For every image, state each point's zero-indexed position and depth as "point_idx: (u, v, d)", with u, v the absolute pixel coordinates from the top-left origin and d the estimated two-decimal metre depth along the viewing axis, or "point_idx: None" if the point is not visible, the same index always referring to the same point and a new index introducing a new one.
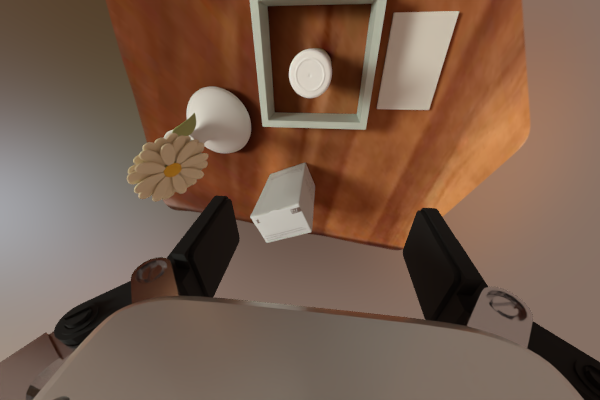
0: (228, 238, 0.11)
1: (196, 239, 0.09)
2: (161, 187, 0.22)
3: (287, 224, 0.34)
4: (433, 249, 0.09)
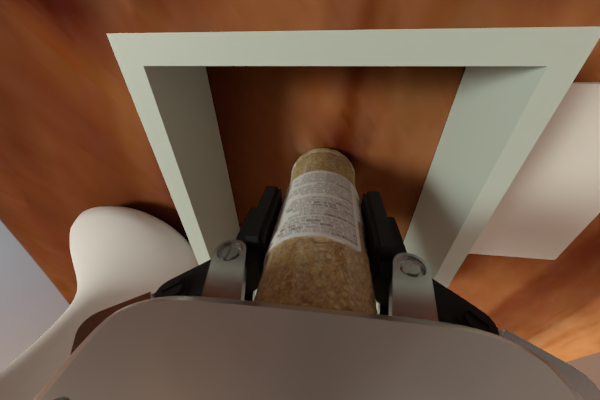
0: None
1: (263, 223, 0.09)
2: None
3: None
4: (368, 225, 0.10)
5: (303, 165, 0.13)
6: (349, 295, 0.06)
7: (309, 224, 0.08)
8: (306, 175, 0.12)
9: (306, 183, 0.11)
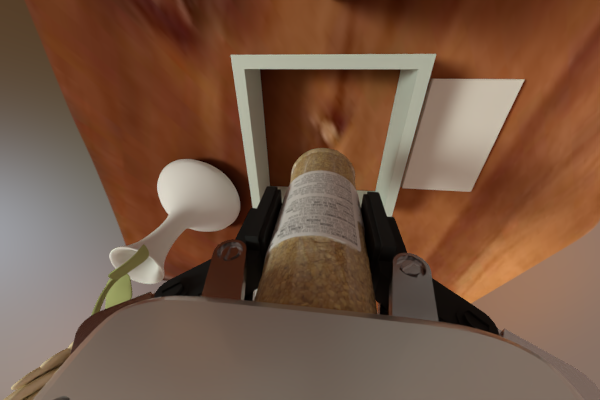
0: None
1: (263, 223, 0.09)
2: None
3: None
4: (368, 225, 0.10)
5: (303, 165, 0.13)
6: (349, 294, 0.06)
7: (309, 224, 0.08)
8: (306, 175, 0.12)
9: (306, 183, 0.11)
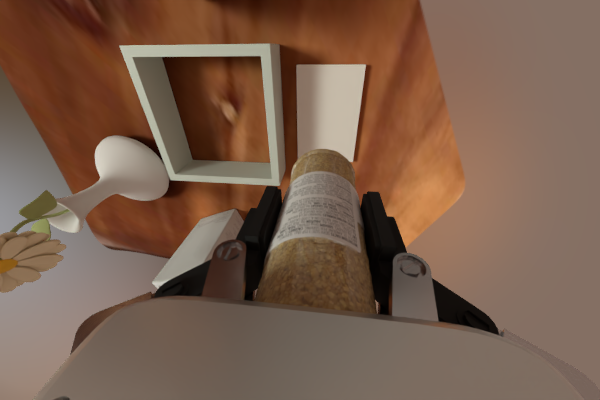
0: None
1: (263, 223, 0.09)
2: None
3: None
4: (368, 225, 0.10)
5: (303, 166, 0.13)
6: (349, 296, 0.06)
7: (308, 225, 0.08)
8: (306, 176, 0.12)
9: (306, 184, 0.11)
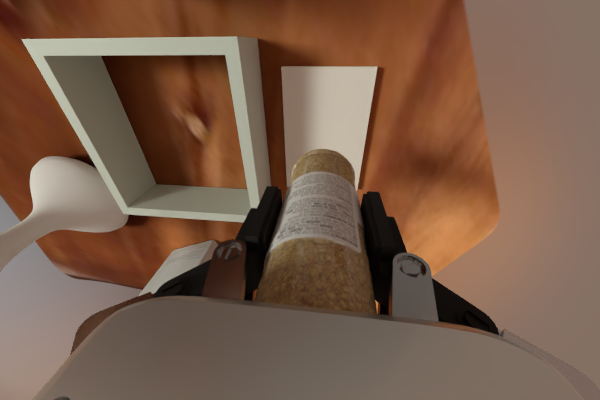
0: None
1: (263, 223, 0.09)
2: None
3: None
4: (368, 225, 0.10)
5: (303, 166, 0.13)
6: (349, 297, 0.06)
7: (308, 225, 0.08)
8: (305, 176, 0.12)
9: (305, 184, 0.11)
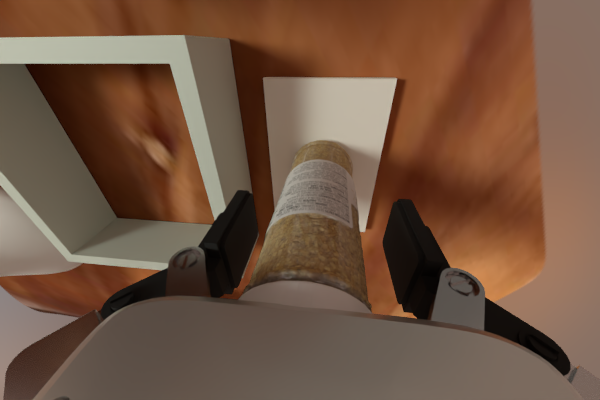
0: (250, 231, 0.12)
1: (225, 230, 0.09)
2: None
3: None
4: (404, 236, 0.09)
5: (303, 156, 0.14)
6: (338, 260, 0.07)
7: (305, 203, 0.09)
8: (304, 164, 0.13)
9: (304, 170, 0.12)
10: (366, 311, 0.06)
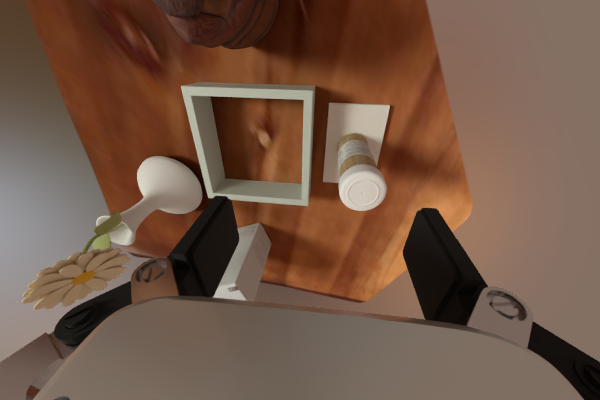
0: (228, 238, 0.11)
1: (196, 239, 0.09)
2: (72, 294, 0.22)
3: None
4: (433, 249, 0.09)
5: (346, 139, 0.30)
6: (372, 164, 0.23)
7: (356, 152, 0.25)
8: (349, 141, 0.29)
9: (351, 143, 0.28)
10: None
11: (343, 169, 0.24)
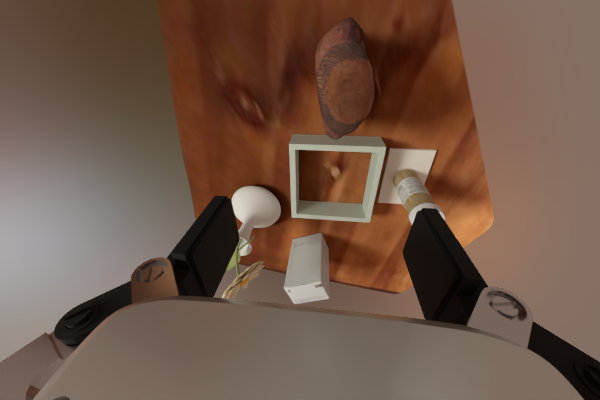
0: (228, 238, 0.11)
1: (196, 239, 0.09)
2: (236, 292, 0.34)
3: (311, 293, 0.45)
4: (433, 249, 0.09)
5: (403, 175, 0.41)
6: (432, 201, 0.34)
7: (418, 190, 0.36)
8: (408, 178, 0.40)
9: (409, 180, 0.39)
10: (440, 208, 0.33)
11: (411, 204, 0.35)
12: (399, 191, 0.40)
